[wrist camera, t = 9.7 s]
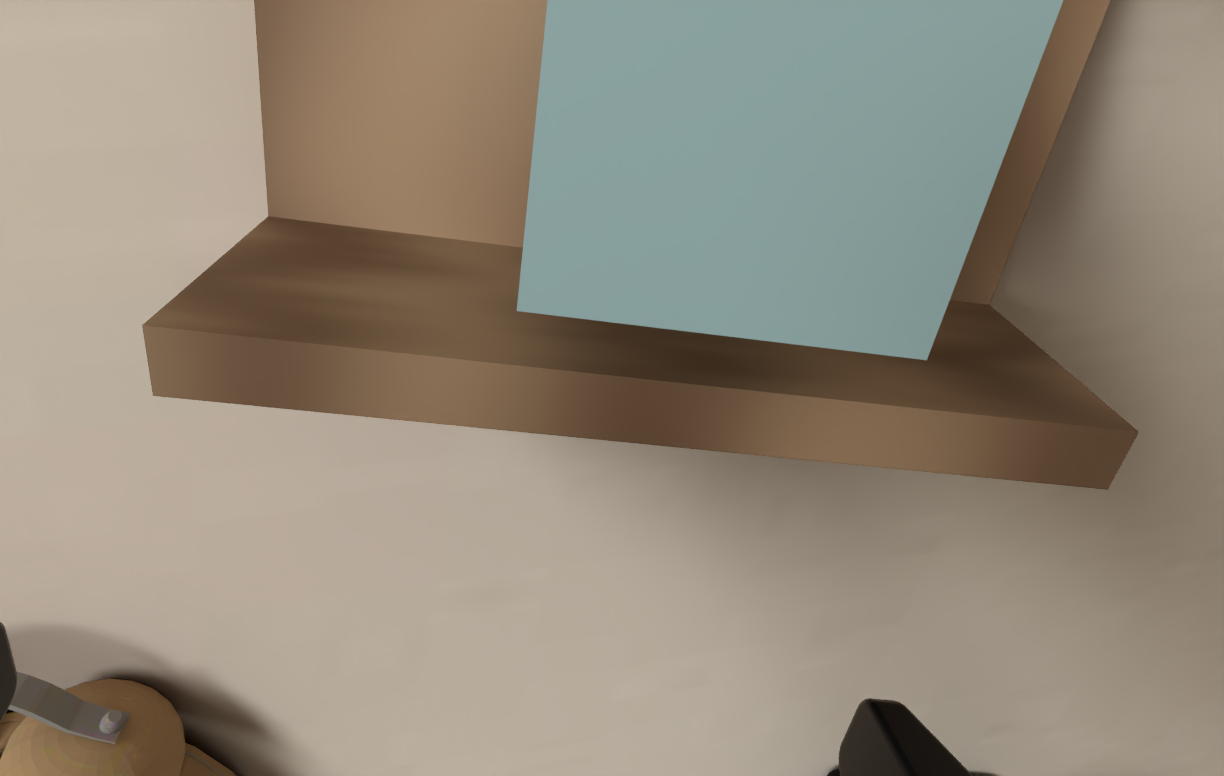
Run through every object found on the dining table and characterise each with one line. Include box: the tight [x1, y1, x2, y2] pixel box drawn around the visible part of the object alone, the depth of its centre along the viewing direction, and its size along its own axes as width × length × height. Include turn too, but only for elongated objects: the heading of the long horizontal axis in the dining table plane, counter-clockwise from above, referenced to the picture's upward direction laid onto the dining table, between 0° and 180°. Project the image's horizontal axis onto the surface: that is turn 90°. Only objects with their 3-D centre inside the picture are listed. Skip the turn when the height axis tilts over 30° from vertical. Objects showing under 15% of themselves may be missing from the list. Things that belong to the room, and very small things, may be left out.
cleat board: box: [142, 0, 1138, 490], centre depth 13 cm, size 16×11×7 cm
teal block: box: [517, 0, 1063, 360], centre depth 12 cm, size 5×5×8 cm
